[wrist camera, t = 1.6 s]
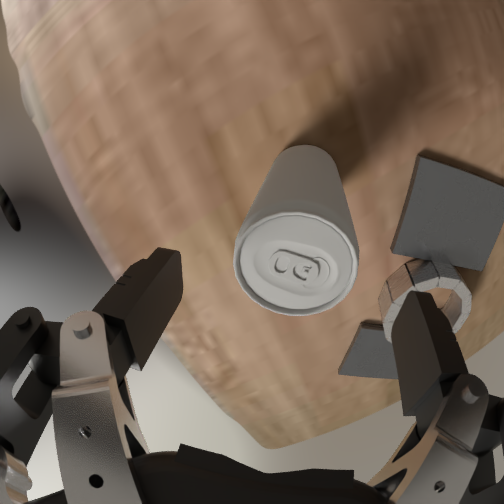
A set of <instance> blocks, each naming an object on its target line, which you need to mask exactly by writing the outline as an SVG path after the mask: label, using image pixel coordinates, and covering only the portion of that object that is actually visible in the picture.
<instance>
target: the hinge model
mask: <svg viewBox="0 0 504 504" xmlns="http://www.w3.org/2000/svg"><path fill="white" fill-rule="evenodd" d="M503 222H504V186H503V185H500V184H498V183H496V182H493V181H491V180H489V179H486V178H484V177H481V176H479V175H476V174H473V173H471V172H468V171H465V170H463V169H460V168H457V167H454V166H451V165H448V164H445V163H442V162H439V161H436V160H433V159H430V158H427V157H423V156H420V155H417V157H416V161H415V166H414V170H413V174H412V178H411V182H410V185H409V189H408V193H407V196H406V200H405V203H404V207H403V210H402V214H401V217H400V220H399V223H398V227H397V230H396V233H395V236H394V239H393V242H392V245H391V248H390V249H391V251H392V253H393V254H398V255H404V256H409V257H414V258H419V259H417V260H414V261H411V262H408V263H406V265H407V266H406V265H405V264H404V265H403V266H402V267H400V268H399V269H398V270H397V271H396V272H395V273H394V274H392V275H391V276H390V277H389V278H388V279H387V281H386V282H385V284H384V286H383V289H382V291H381V294H380V296H379V298H378V302H379V307H380V312H381V317H382V322H383V325H376V324H368V323H360V325H359V328H358V330H357V332H356V334H355V336H354V338H353V341H352V343H351V345H350V347H349V349H348V351H347V353H346V355H345V357H344V359H343V361H342V363H341V365H340V367H339V369H338V374H339V375H349V376H359V377H372V378H386V379H398V373H397V367H396V362H395V356H394V351H393V346H392V341H391V330H392V326H393V323H394V321H395V319H396V317H397V315H398V313H399V311H400V309H401V307H402V304H403V302H404V300H405V298H406V296H407V294H408V293H409V291H411V290H414V291H420V292H423V291H426V290H430V289H433V288H436V287H441V288H447V289H452V293H451V295H450V297H449V299H448V301H447V302H446V304H445V306H444V307H443V308H442V309H441V311H442V312H443V313H444V314H445V316H446V317H447V318H448V319H449V322H450V324H451V327H452V329H453V332H454V334H455V333H456V332H458V330H460V328H461V327H462V325H463V324H464V322H465V320H466V319H467V317H468V316H469V314H470V312H471V298H472V295H471V292H470V290H469V288H468V287H467V285H466V283H465V281H464V280H463V278H462V276H461V274H460V273H459V272H458V270H457V269H456V268H455V267H454V266H459V267H464V268H469V269H473V270H478V271H482V270H483V268H484V266H485V264H486V262H487V260H488V258H489V255H490V253H491V251H492V249H493V246H494V244H495V242H496V239H497V237H498V235H499V232H500V230H501V227H502V225H503Z"/></svg>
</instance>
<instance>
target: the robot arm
mask: <svg viewBox="0 0 504 504" xmlns="http://www.w3.org/2000/svg"><path fill="white" fill-rule="evenodd" d="M182 294H183V278H182V264H181V254H180V252H179V251H177V250H171V249H166V248H160V247H158V248H157V249H156V250H155V251H154V252H153V253H152V254H151V255H150V256H149V258H148V259H141V260H140V261H138V262H136V263H134V264H133V265H131V266H130V267H129V268H128V269H127V270H126V271H125V273H124V274H123V276H121V277H120V278H119V279H118V280H117V282H116V284H114V285H113V286H112V287H111V289H110V290H109V291H108V292H107V293H106V294H105V296H104V297H103V298H102V299H101V300H100V301H99V303H98V304H97V305H96V306H95V307H94V309H93V310H92V311H80V312H77V313H75V314H73V315H71V316H70V317H68V318H67V319H66V320H65V321H64V322H50V321H44V318H43V316H42V314H41V312H40V311H39V310H38V309H37V308H34V307H26V308H22V309H20V310H18V311H17V312H15V313H14V314H13V315H12V316H11V317H10V318H9V320H8V321H7V322H6V323H5V324H4V326H3V327H2V328H1V329H0V504H504V476H503V478H502V479H501V480H500V481H499V482H498V483H496V480H495V468H494V458H493V449H495V448H496V447H497V446H499V445H500V444H502V448H503V455H504V398H500V397H497V396H493V395H490V394H489V393H488V390H487V387H486V386H485V384H484V382H483V381H482V380H481V379H480V378H478V377H477V376H475V375H473V374H469V373H468V370H467V367H466V364H465V361H464V358H463V355H462V352H461V350H460V347H459V344H458V342H456V337H455V334H454V332H453V329H452V327H451V324H450V322H449V319H448V318H447V317H446V316H445V314H444V313H443V312H442V311H441V310H440V309H439V308H437V306H436V304H435V301H434V299H433V297H432V295H431V294H430V293H427V292H420V291H414V290H411V291H409V293H408V294H407V296H406V298H405V300H404V302H403V304H402V307H401V309H400V311H399V313H398V315H397V317H396V319H395V321H394V323H393V326H392V330H391V341H392V346H393V351H394V356H395V362H396V367H397V373H398V379H399V386H400V393H401V400H402V408H403V416H416V422H415V423H414V424H413V426H412V427H411V428H410V430H409V431H408V433H407V434H406V436H405V437H404V439H403V441H402V442H401V444H400V445H399V447H398V448H397V449H396V451H395V452H394V454H393V455H392V457H391V458H390V459H389V461H388V462H387V463H386V465H385V466H384V467H383V468H382V469H381V470H380V471H379V472H378V473H377V474H376V475H375V476H374V477H373V478H372V479H371V480H370V481H369V482H368V483H367V484H365V483H363V482H360V481H358V480H355V479H354V470H329V469H307V470H299V471H291V472H282V473H263V472H261V471H258V470H256V469H253V468H251V467H248V466H246V465H244V464H242V463H239V462H237V461H235V460H233V459H231V458H229V457H227V456H224V455H222V454H217V453H214V452H209V451H205V450H202V449H198V448H194V447H191V446H188V445H184V444H180V446H179V449H178V452H176V451H164V452H163V451H162V452H155V453H150V452H149V449H148V446H147V443H146V441H145V439H144V436H143V434H142V432H141V430H140V427H139V424H138V421H137V417H136V414H135V410H134V407H133V403H132V399H131V395H130V391H129V387H128V383H127V378H126V376H125V375H126V373H127V371H128V370H129V368H133V369H135V370H138V371H142V369H143V367H144V365H145V364H146V362H147V360H148V358H149V356H150V354H151V353H152V351H153V349H154V347H155V345H156V344H157V342H158V340H159V338H160V337H161V335H162V333H163V331H164V330H165V328H166V326H167V324H168V323H169V321H170V319H171V317H172V316H173V314H174V312H175V310H176V309H177V307H178V305H179V303H180V301H181V298H182ZM27 364H28V365H29V367H30V368H31V369H32V371H31V372H30V374H29V375H28V377H27V378H26V380H25V381H24V383H23V385H22V386H21V388H20V390H19V391H18V393H17V395H16V397H15V398H14V399H13V397H12V388H13V386H14V384H15V382H16V381H17V379H18V378H19V376H20V374H21V373H22V371H23V370H24V368H25V367H26V365H27ZM52 413H53V423H54V432H55V440H56V448H57V455H58V460H59V466H60V472H61V477H62V481H63V486H64V489H63V490H61V491H58V492H55V493H53V494H50V495H47V496H44V497H41V498H38V499H35V500H32V501H28V498H27V490H30V489H31V487H32V481H31V478H30V477H29V476H28V471H27V469H26V467H27V464H28V462H29V460H30V458H31V456H32V453H33V451H34V449H35V447H36V445H37V443H38V441H39V439H40V437H41V435H42V433H43V431H44V429H45V427H46V425H47V423H48V421H49V419H50V417H51V415H52Z"/></svg>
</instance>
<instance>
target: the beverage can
mask: <svg viewBox="0 0 504 504" xmlns="http://www.w3.org/2000/svg"><path fill="white" fill-rule="evenodd" d="M233 265H234V270H235V275H236V278H237V280H238V282H239V284H240V286H241V288H242V289H243V290H244V291H245V293H246V294H247V295H248V296H249V297H250V298H251V299H252V300H253V301H255V302H256V303H258V304H259V305H261V306H262V307H264V308H266V309H268V310H271V311H273V312H276V313H280V314H284V315H289V316H307V315H312V314H317V313H321V312H323V311H325V310H328V309H330V308H332V307H334V306H335V305H336V304H338V303H339V302H340V301H342V300H343V299H344V298H345V297H346V295H347V294H348V293H349V292H350V290H351V289H352V287H353V285H354V282H355V280H356V277H357V271H358V265H359V246H358V242H357V237H356V233H355V229H354V226H353V222H352V218H351V214H350V211H349V207H348V203H347V200H346V196H345V193H344V189H343V186H342V183H341V179H340V176H339V173H338V170H337V167H336V164H335V162H334V161H333V159H332V157H331V156H330V155H329V154H328V153H327V152H325V151H324V150H323V149H321V148H318V147H316V146H312V145H298V146H294V147H290V148H288V149H286V150H284V151H283V152H281V153H280V154H279V155H278V157H277V158H276V159H275V161H274V163H273V165H272V167H271V169H270V171H269V172H268V174H267V176H266V178H265V180H264V182H263V184H262V186H261V188H260V190H259V192H258V194H257V196H256V198H255V200H254V202H253V204H252V206H251V208H250V210H249V212H248V214H247V216H246V218H245V220H244V222H243V224H242V226H241V228H240V230H239V233H238V235H237V237H236V241H235V250H234V260H233Z"/></svg>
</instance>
